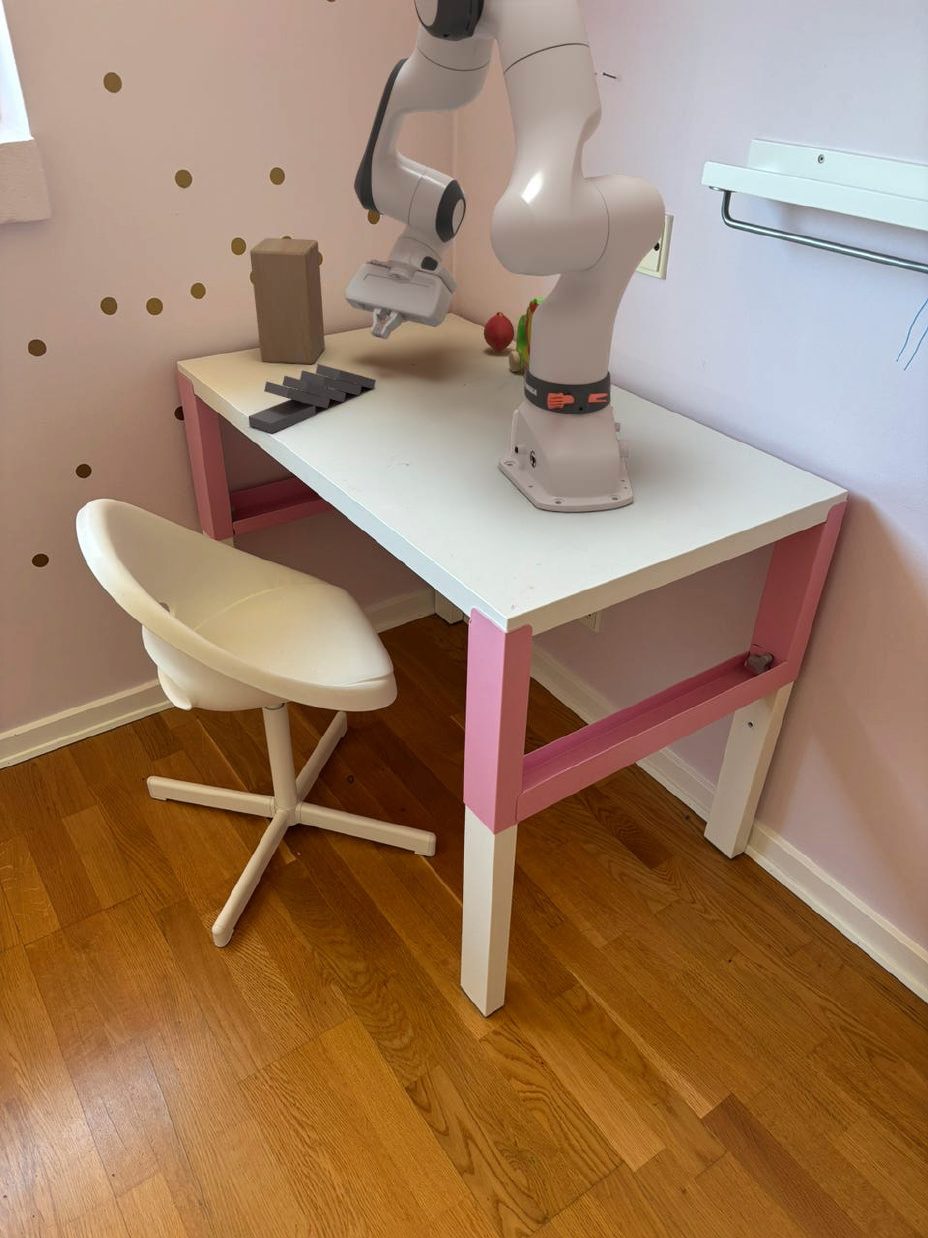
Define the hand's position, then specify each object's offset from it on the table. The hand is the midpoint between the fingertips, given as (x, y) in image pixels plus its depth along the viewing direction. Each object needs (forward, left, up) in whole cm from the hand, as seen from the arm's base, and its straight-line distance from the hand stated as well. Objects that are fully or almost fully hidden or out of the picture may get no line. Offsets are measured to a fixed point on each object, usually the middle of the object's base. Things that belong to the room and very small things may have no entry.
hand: (378, 336), depth 166 cm
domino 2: (-14, +14, -7) cm, 21 cm away
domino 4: (-6, +6, -7) cm, 11 cm away
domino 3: (-9, +9, -7) cm, 14 cm away
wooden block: (+15, +15, -8) cm, 22 cm away
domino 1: (-12, +12, -7) cm, 18 cm away
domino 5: (-3, +3, -7) cm, 8 cm away
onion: (+12, -24, -8) cm, 28 cm away
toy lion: (-5, -27, -8) cm, 29 cm away
